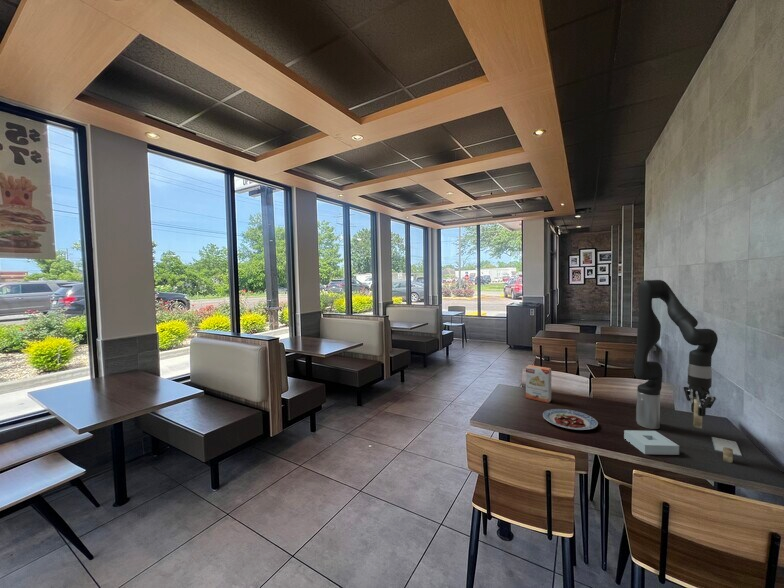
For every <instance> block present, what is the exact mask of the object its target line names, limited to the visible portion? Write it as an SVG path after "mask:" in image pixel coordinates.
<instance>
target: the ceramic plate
mask: <svg viewBox="0 0 784 588" xmlns="http://www.w3.org/2000/svg"><path fill="white" fill-rule="evenodd" d="M542 417H543V419H544V420H546V421H547V422H549V423H550V424H552V425H555V426H557V427H561V428H563V429H564V428H565V429H568V430H569V429H570V430H576V431H584V430H585V431H586V430H593V429H596V428H597V427H598V425H599V422H598V420H596V419H595V418H594V417H593V416H590V415H589V414H586V413H584V412H581V411H577V410H572V409H565V408H554V409H553V408H552V409H548V410H545V411H543V413H542Z"/></svg>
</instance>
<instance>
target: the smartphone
mask: <svg viewBox="0 0 784 588" xmlns="http://www.w3.org/2000/svg"><path fill="white" fill-rule="evenodd" d="M711 442H712V444H713V449H714V451H716V452H719V453H723V448H724V447H726V448H730V449H732V450H733V456H738V457H743V455H742V451H741V449H740V447H739V444H738V442H737V441H734V440H729V439H725V438H721V437H717V436H716V437H715V436H712V437H711Z"/></svg>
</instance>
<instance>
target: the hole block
mask: <svg viewBox="0 0 784 588" xmlns="http://www.w3.org/2000/svg"><path fill="white" fill-rule="evenodd" d="M623 433H624V434H623V439H624V440H625V439H626V440H625V441H627V442H628V443H629V442H630V443H629V444H630V445H632V446H633V447H635V448H636V449H637V450H639V451H640V452H641V453H642V454H644V455H663V456H664V455H667V456H668V455H669V456H670V455H671V456H674V455H675V456H676V455H678V456H679V455H680V445H679V444H677V443H675V442H674V441H672V440H670V439H669V438H667V437H666V436H664V435H663V434H661V433H660V432H658V431H656V430H632V429H631V430H628V429H625V430H623Z"/></svg>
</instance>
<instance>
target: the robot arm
mask: <svg viewBox="0 0 784 588" xmlns="http://www.w3.org/2000/svg"><path fill="white" fill-rule="evenodd" d="M637 297H638V298H637V302H638V317H637V318H638V321H637V333H636V334H637V337H636V338H637V339H636V348H635V349H636V351H635V356H634V363H633V373H634V374H633V375H634V376H635V378H637V379H638V380H645V382H644V383H641V384H638V385H637V390H636V391H637V393H636V394H637V395H636V396H637V399H636V401H637V402H636V404H635V407H636V408H635V413H636V414H635V422H636V423H637V425H638V426H641V427H643V428H646V429H651V430H657V429H658V430H659V429H660V426H661V417H660V416H661V391H662V388H663V387H662V384H663V368H662V365H661V364H660V363H659V362H657V361H650V360H649V361H647V358H648V355H649V354H650V351H651V350H652V349H653V348H654V347H655V346H656V345H657V343H658V342H659V341H660V339H661V329H662V327H661V321H660V320H659V319H658V317H657V315H656V313H655V312H654V310H653V299H660V300H661V301H663V302H664V303H665V304H666V306H667V315H668V317H669V319H671V321H672V322H673V323H674V324H675V326H677V327H678V328H679V332H680V333H681V335H682V338H683V339H684V341H685V342H686V343H688V344H690V345H691V346H697V348H695V349H693V350H690V351H689V352H688V353H689V354H688V366H687V384H688V386H683V391H684V394H685V397H686V401H688V402H690V405H691V409H690V410H691V413H693V414H694V399H697V401H698V404H699V407H698V415H699V416H702V417H705V416H706V414H707V413H706V412H707V410H706V409H711V408H712V407H713V406H714V403H715V402H716V400H717V398H716V397H715V396H713V395H711V393H710V389H711V388H712V380H713V378H712V377H713V369H712V360H713V359H712V356H713V354H714V352H715V349H716V347H717V345H718V335H717V333H716V331H714V329H711V328H696V327H697V326H698V324H699V322H698V320H697V319H696V317H695V316H694V315H693V314H691V312H690V311H688V309H686V307H684V305H683V304H682V303H681V301H680V300H679V299H678V297H677V295H676V294H675V293H674V291H673V290H672V288H671V287H670V285H668V283H667V282H666V281H665V280H662V279H646V280H641V281H640V283H638V286H637ZM646 380H647V381H646ZM700 399H702V400H700ZM702 402H703V405H702Z"/></svg>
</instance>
